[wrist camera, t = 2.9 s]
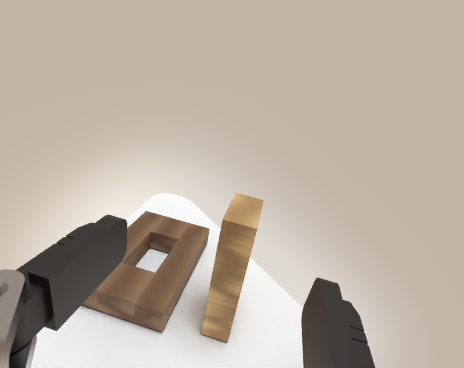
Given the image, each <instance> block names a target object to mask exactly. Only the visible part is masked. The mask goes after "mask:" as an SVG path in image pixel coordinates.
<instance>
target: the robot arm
mask: <svg viewBox="0 0 464 368" xmlns="http://www.w3.org/2000/svg"><path fill="white" fill-rule="evenodd" d="M126 250H127V221H126V220H125V219H121V218H118V217H115V216H112V215H106V216H104V217H103V218H101V219H100V220H99V221H97V222H96V223H89V224H87V225H84V226H81V227H78V228H77V229H76V230H74V231H72V232H71V233H69V234H68V235H66V237H64V238H62V239H61V240H59V241H58V242H57V243H56V244H53V245H52V246H51V247H49V248H48V249H46V250H45V251H43V252H42V253H40V254H39V255H37V256H36V257H35V258H33V259H31V260H30V261H29V262H27V263H26V264H24V265H23V266H21V267H20V268H18V269H17V270H0V368H31V363H32V359H33V354H34V349H35V345H36V340H37V336H36V334H37V333H38V332H39V331H40V330H41V329H42V328H43V327H47V328H50V329H52V330H55V331H57V330H58V329H59V328H60V327H61V326H62V325H63V324H64V323H65V322H66V321H67V319H68V318H69V317H70V316H71V315H72V314H73V313H74V312H75V311H76V310H77V309H78V308H79V307H80V306H81V305H82V303H83V302H84V301H85V300H86V299H87V298H88V297H89V296H90V295H91V294H92V293H93V292H94V291H95V290H96V289H97V287H98V286H99V285H100V284H101V283H102V282H103V281H104V280H105V279H106V278H107V277H108V276H109V275H110V274H111V273H112V271H113V270H114V269H115V268H116V267H117V266H118V265H119V264H120V263H121V262H122V260H123V258H124V256H125V254H126ZM302 343H303V364H304V368H375V366H374V362H373V359H372V355H371V353H370V349H369V346H368V345H367V343H368V342H367V339H366V335H365V333H364V329H363V325H362V322H361V319H360V316H359V314H358V313H357V311H356V310H355V308H354V307H353V305H352V304H351V303H350V302H348V301H345V300H342V296H341V292H340V287H339V285H338V284H337V283H334V282H331V281H328V280H324V279H321V278H316V280H315V281H314V284H313V286H312V288H311V291H310V293H309V295H308V298H307V300H306V302H305V304H304V307H303V312H302Z"/></svg>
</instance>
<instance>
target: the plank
mask: <svg viewBox="0 0 464 368" xmlns="http://www.w3.org/2000/svg"><path fill="white" fill-rule="evenodd" d="M262 204H263V200H261V199H257V198H253V197H249V196H246V195H242V194H238V193H235V195H234V197H233V200H232V201H231V204H230V206H229V208H228V210H227V212H226V214H225V216H224V218H223V221H222V226H221V231H220V236H219V242H218V247H217V252H216V258H215V263H214V268H213V273H212V279H211V284H210V289H209V294H208V300H207V305H206V310H205V315H204V321H203V326H202V331H201V334H204V335H207V336H210V337H213V338H216V339H219V340H222V341H225V342H228V338H229V334H230V330H231V326H232V323H233V319H234V315H235V311H236V307H237V304H238V300H239V296H240V292H241V288H242V285H243V281H244V277H245V273H246V269H247V266H248V262H249V258H250V254H251V250H252V247H253V242H254V239H255V235H256V231H257V227H258V223H259V218H260V214H261V209H262Z"/></svg>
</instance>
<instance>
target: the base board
mask: <svg viewBox="0 0 464 368" xmlns="http://www.w3.org/2000/svg"><path fill="white" fill-rule="evenodd" d="M208 235H209V229H208V228H205V227H201V226H198V225H194V224H190V223H187V222H183V221H180V220H176V219H173V218H169V217H166V216H162V215H158V214H155V213H151V212H148V211H146V212H145V213H144V214H142V215H141V216H140V217H139V218H138V219H137V220H136V221H135V222H134V223H133V224H131V225H130V226H129V227H128V228H127V250H126V254H125V256H124V258H123V260H122V262H121V263H120V264H119V265H118V266H117V267H116V268H115V269H114V270H113V271H112V273H111V274H110V275H109V276H108V277H107V278H106V279H105V280H104V281H103V282H102V283H101V284H100V285H99V286H98V287H97V289H96V290H95V291H94V292H93V293H92V294H91V295H90V296H89V297H88V298H87V299H86V300H85V301H84V302H83V303H82V305H84V306H87V307H90V308H93V309H96V310H99V311H101V312H104V313H107V314H110V315H113V316H116V317H119V318H122V319H125V320H128V321H131V322H134V323H136V324H139V325H142V326H145V327H148V328H151V329H154V330H157V331H160V332H162V331H163V329H164V327H165V325H166V323H167V321H168V319H169V317H170V315H171V314H172V312H173V310H174V308H175V306H176V304H177V302H178V300H179V298H180V296H181V294H182V292H183V290H184V288H185V286H186V284H187V282H188V280H189V278H190V276H191V274H192V272H193V270H194V268H195V266H196V264H197V262H198V260H199V258H200V256H201V255H202V253H203V251H204V249H205V247H206V245H207V241H208ZM150 247H151V248H154V249H157V250H161V251H164V252H167V253H169V254H168V256H167V257H166V259H165V260H164V261H163V263H162V264H161V266H160V267H159V269H158V270H157V271H156V273H153V272H150V271H147V270H144V269H141V268H137V267H134V266H135V265H136V264H137V262H138V261H139V260H140V259H141V258H142V256H143V255H144V254H145V253H146V252H147V251H148V249H149V248H150Z"/></svg>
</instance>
